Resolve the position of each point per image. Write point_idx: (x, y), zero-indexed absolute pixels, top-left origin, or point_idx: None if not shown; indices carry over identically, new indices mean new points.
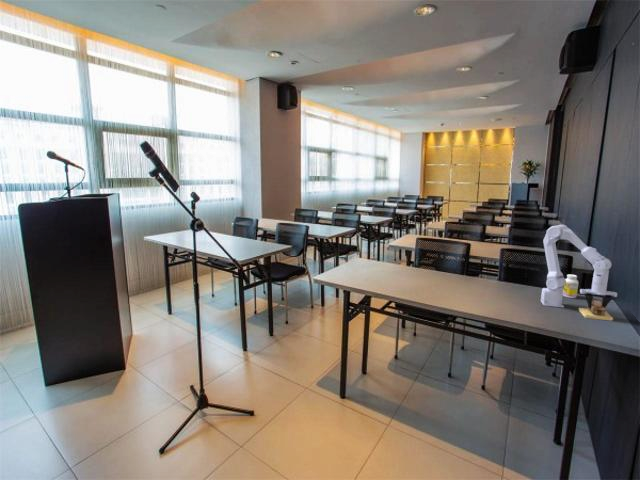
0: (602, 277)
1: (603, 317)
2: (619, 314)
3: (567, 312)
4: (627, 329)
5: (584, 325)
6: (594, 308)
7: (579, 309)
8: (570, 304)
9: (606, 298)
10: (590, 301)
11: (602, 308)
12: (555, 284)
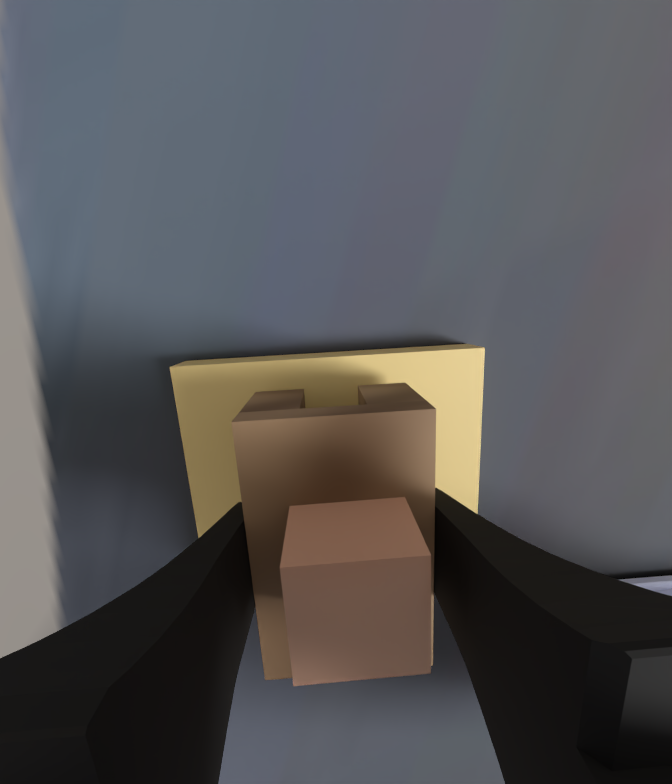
0: None
1: (280, 358)
2: (79, 604)
3: (603, 449)
4: (68, 86)
5: (579, 9)
6: (413, 405)
7: None
8: None
9: (124, 689)
10: (509, 551)
11: (287, 420)
12: None
